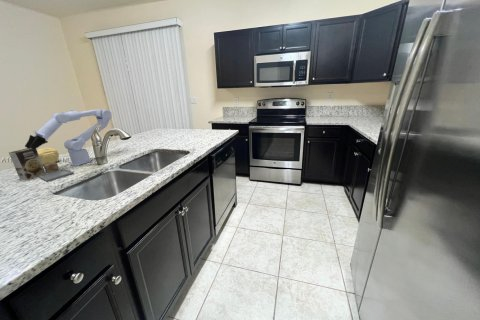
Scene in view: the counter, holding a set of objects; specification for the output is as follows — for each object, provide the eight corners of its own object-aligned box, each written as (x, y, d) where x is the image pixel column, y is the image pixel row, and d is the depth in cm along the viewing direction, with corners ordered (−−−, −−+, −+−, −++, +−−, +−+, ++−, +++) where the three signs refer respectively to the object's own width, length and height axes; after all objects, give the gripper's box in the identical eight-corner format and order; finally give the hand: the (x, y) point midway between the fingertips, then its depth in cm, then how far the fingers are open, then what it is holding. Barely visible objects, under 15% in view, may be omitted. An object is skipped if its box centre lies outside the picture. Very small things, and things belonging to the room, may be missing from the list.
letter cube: (56, 169, 124) (53, 162, 122) (59, 171, 122) (57, 163, 120) (46, 172, 120) (42, 164, 118) (49, 174, 118) (46, 166, 116)
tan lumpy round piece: (41, 167, 130) (35, 151, 126) (35, 164, 136) (29, 149, 132) (63, 161, 139) (58, 146, 135) (56, 159, 145) (51, 144, 141)
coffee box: (28, 180, 110) (16, 152, 104) (19, 180, 111) (7, 152, 106) (46, 174, 118) (36, 147, 113) (38, 173, 120) (27, 147, 114)
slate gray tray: (65, 170, 122) (64, 168, 121) (74, 173, 116) (73, 171, 115) (39, 177, 112) (38, 175, 112) (47, 182, 106) (46, 179, 106)
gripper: (36, 124, 118) (16, 142, 112) (45, 124, 111) (25, 144, 105) (49, 132, 123) (31, 150, 117) (58, 133, 116) (40, 152, 110)
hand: (29, 148), depth 111 cm, fingers open, 7 cm apart
